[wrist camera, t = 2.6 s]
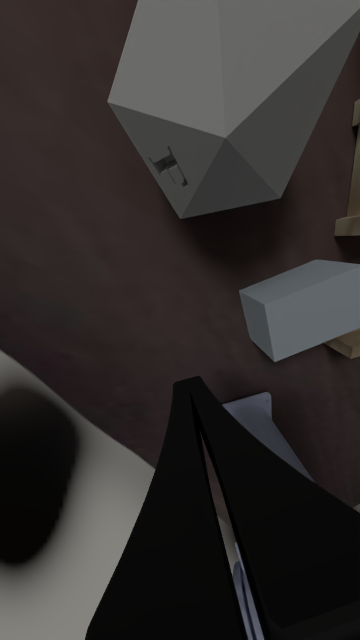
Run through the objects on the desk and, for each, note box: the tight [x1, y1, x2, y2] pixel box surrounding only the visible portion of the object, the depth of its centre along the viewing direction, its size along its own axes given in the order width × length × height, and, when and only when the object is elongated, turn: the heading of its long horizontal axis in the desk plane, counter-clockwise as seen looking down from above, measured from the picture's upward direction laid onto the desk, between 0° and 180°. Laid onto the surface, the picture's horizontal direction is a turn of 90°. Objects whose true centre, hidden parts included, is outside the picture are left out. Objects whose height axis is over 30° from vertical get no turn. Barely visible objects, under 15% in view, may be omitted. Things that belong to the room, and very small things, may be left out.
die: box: [108, 0, 360, 219], centre depth 8 cm, size 8×9×10 cm
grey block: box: [239, 260, 360, 362], centre depth 15 cm, size 5×7×4 cm
